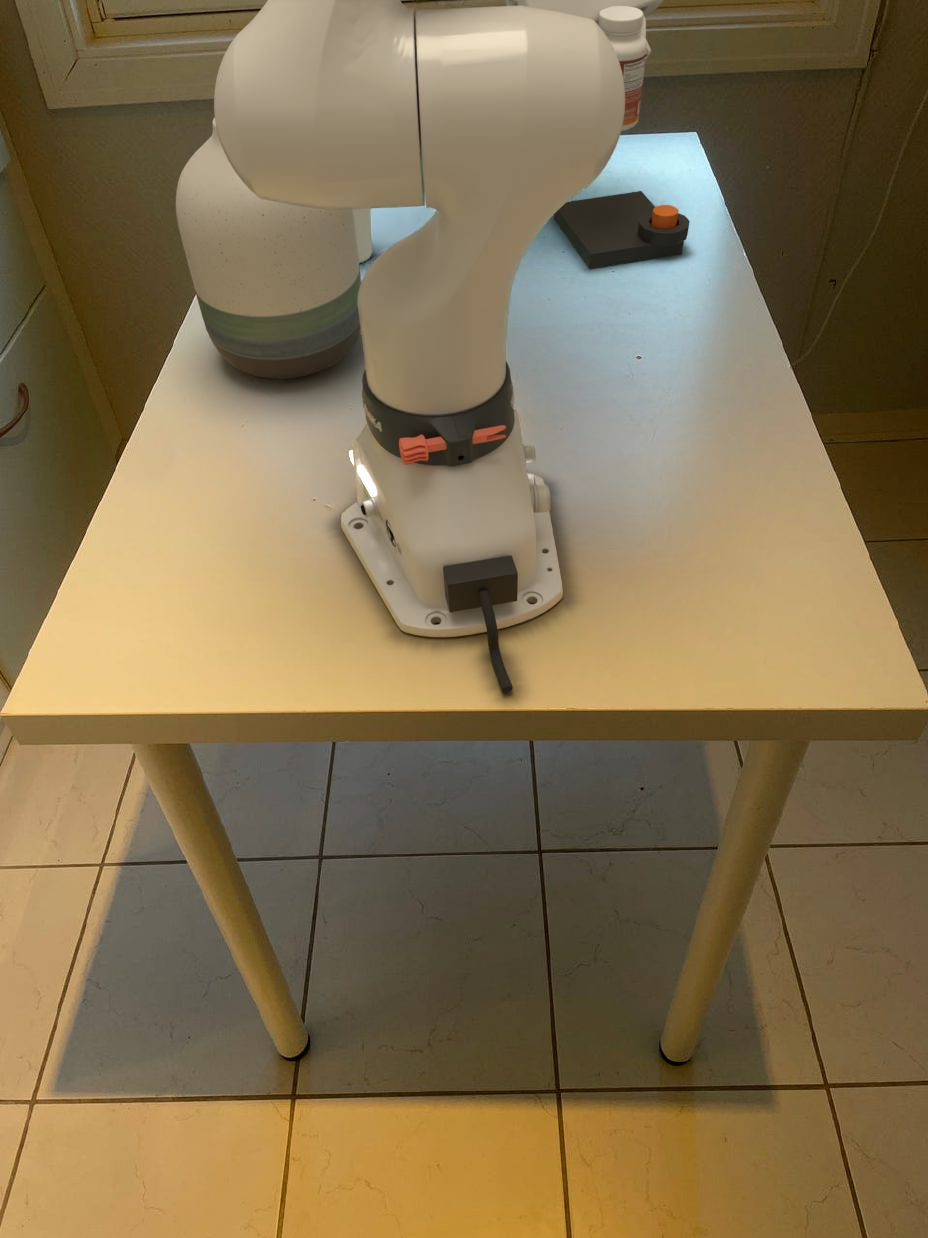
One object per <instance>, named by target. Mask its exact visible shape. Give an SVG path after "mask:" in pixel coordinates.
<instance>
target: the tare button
mask: <svg viewBox="0 0 928 1238" xmlns="http://www.w3.org/2000/svg"><path fill="white" fill-rule="evenodd" d="M678 213H679V208H677V207H676V206H674V205H670V204H660V205H659V204H658V205H655V208H654V209H653V215H652V223H651V224H652V226H654V227H657V228H664V229H668V228H674V227H676V225H677V218H678Z"/></svg>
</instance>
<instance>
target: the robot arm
mask: <svg viewBox="0 0 928 1238" xmlns="http://www.w3.org/2000/svg"><path fill="white" fill-rule="evenodd" d="M664 1H665V0H505V5H500V6H499V5H498V6H497V5H496V6H478V7H477V6H476V7H474V6H473V7H454V8H453V7H451V8H432V9H431V8H429V9H416V10H415V8H414V7H408V6H405V4H403V3H402V0H267V1H266V2H265V4H264V5H262V7H261V9H260V10H259V11H258V13H257V14H255V16H254V17H253V19H251V20H250V21H249V23H247V24H246V25H245V26H244V27H243V28H242V29H241V30H240V31H239V32H238V33H237V34H236V36H235V37H234V38H233V40H232V41H231V43H230V44H229V45H228V48H227V49H226V51H225V52H224V55H223V57H222V60H221V63H220V65H219V67H218V71H217V75H216V78H215V84H214V93H213V112H214V117H215V122H216V128H217V132H218V136H219V139H220V142H221V145H222V148H223V150H224V152H225V155H226V157H227V159H228V161H229V163H230V164H231V166H232V168H233V169H234V171H235V172H236V174H237V175H238V176H239V178H240V179H241V180H242V182H243V183H244V184H245V185H246V186H247V187H248V188H249V189H250V190H251V191H252V192H253V193H254V194H255V195H256V196H257V197H259V198H261V199H264V200H269V201H274V202H279V203H284V204H290V205H295V206H301V207H308V208H315V209H322V210H348V209H391V208H414V207H415V208H416V207H426V208H427V209H434V210H435V211H434V213H433V214H432V215H431V217H430V218H429V219H428V220H427V221H426V223H424V225H422V226H421V227H420V228H419V229H417V230H416V231H414V232H413V233H411V234H409V235H408V236H405V237H404V238H402V239H400V240H398V241H397V242H395V243H393V244H392V245H391V246H389V247H388V248H386V249H385V250H384V251H383V252H382V253H381V254H379V255H378V256H377V258H376V259H375V260H374V261H373V262H372V263H371V265H370V266H369V267H368V269H367V270H366V272H365V273H364V275H363V277H362V278H361V284H360V288H359V291H358V298H357V305H358V313H359V321H360V328H361V329H360V335H361V342H362V351H363V359H364V367H365V369H364V371H363V372H362V373H363V374H362V379H361V385H362V389H361V400H362V406H363V409H364V413H365V420H366V423H365V426H364V427H363V429H362V431H361V432H360V434H359V435H358V436H357V437H356V438H355V440H354V442H353V443H352V444H351V450H349V452H348V453H349V458H350V461H351V463H352V465H353V471H354V472H353V473H354V479H355V480H354V481H355V488H356V489H355V490H356V498H357V499H356V501H355V502H353V503H352V504H351V505H349V506H348V507H347V508H346V509H345V510H344V511H343V512H342V513H341V515H340V527H341V530H342V532H343V535H344V536H345V538H346V539H347V541H348V542H349V544H350V546H351V548H352V549H353V551H354V553H355V554H356V556H357V558H358V560H359V561H360V563H361V565H362V567H363V568H364V570H365V572H366V573H367V575H368V577H369V579H370V581H371V582H372V584H373V585H374V587H375V589H376V591H377V592H378V594H379V596H380V598H381V600H382V601H383V603H384V605H385V606H386V608H387V610H388V612H389V613H390V615H391V617H392V619H393V620H394V622H395V623H396V626H397V627H398V628H399V629H400V630H401V631H402V632H403V633H406V634H410V635H415V636H418V637H419V636H420V637H427V638H454V637H455V638H456V637H463V636H471V635H478V634H482V633H486V635H487V636H486V637H487V646H488V652H489V657H490V661H491V664H492V668H493V670H494V673H495V675H496V677H497V681H498V682H499V686H500V688H501V691H502V693H504V694H508V693H510V692H512V691H513V689H514V687H513V684H512V681H511V678H510V676H509V674H508V671H507V669H506V666H505V664H504V661H503V657H502V652H501V650H500V649H501V648H500V643H499V631H498V630H500V629H504V628H509V627H511V626H515V625H518V624H522V623H524V622H526V621H530V620H532V619H534V618H536V617H538V616H540V615H542V614H544V613H546V612H547V611H548V610H550V609H551V608H553V607H554V606H556V605H557V604H558V603H559V602H560V601H561V600H562V599H563V596H564V589H563V579H562V574H561V568H560V564H559V559H558V558H559V557H558V552H557V547H556V540H555V536H554V535H555V534H554V530H553V526H552V518H551V512H550V511H551V508H552V507H551V505H552V503H551V502H552V500H551V499H552V498H551V491H550V486H549V484H546V483H545V481H544V479H543V477H541V476H539V475H537V474H535V473H532V472H528V467H527V463H528V464H529V463H533V462H534V463H535V462H536V460H537V456H536V453H537V452H536V447H535V445H525V444H524V441H523V436H522V426H523V425H522V423H523V414H522V413H521V412H519V411H518V410H517V409H515V407H514V404H515V394H514V385H513V380H512V377H511V376H512V375H511V368H510V366H509V363H508V361H507V340H508V339H507V337H508V336H507V335H508V323H509V311H510V305H511V303H510V302H511V295H512V289H513V285H514V281H515V278H516V275H517V272H518V270H519V267H520V265H521V263H522V261H523V258H524V256H525V254H526V253H527V251H528V249H529V248H530V246H531V244H532V243H533V241H534V240H535V238H536V237H537V235H538V234H540V231H542V229H543V227H544V226H545V225H546V224H547V222H548V221H550V219H552V217H553V215H554V214H555V213H556V212H557V211H558V210H559V209H560V208H561V207H562V206H563V205H564V204H565V203H567V202H569V201H570V200H572V199H573V198H574V197H576V196H578V194H579V193H581V192H582V191H584V190H585V189H587V188H588V187H590V186H591V185H592V184H593V183H594V182H595V181H596V179H598V177H599V176H600V175H601V174H602V172H603V171H604V169H605V168H606V166H607V165H608V163H609V162H610V160H611V158H612V157H613V154H614V152H615V150H616V148H617V145H618V142H619V139H620V137H621V134H622V131H621V129H622V125H623V121H624V113H625V86H624V79H623V74H622V70H621V66H620V63H619V60H618V57H617V55H616V52H615V50H614V48H613V46H612V44H611V43H610V41H609V39H608V37H607V36H606V35H605V33H604V32H603V30H602V29H601V28H600V27H599V26H598V22H599V13H600V11H601V10H603V9H606V8H609V7H612V6H629V7H634V8H637V9H640V10H641V11H642V12H643V25H642V29H641V30H640V31H639V33H640V34H641V35H642V36H643V37H644V38H645V40H646V43H647V50H646V59H648V58H649V57H650V56H651V55H652V54H651V53H652V49H651V46H650V43H649V42H648V40H647V18H646V17H648V16H650V15H652V14H653V13H654V12H655V11H656V10H657V9H658V8H659V6H661V4H662V3H664Z"/></svg>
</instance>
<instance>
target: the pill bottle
mask: <svg viewBox="0 0 928 1238" xmlns="http://www.w3.org/2000/svg"><path fill="white" fill-rule="evenodd" d="M642 25H643V12H642V11H641V10H640V9H637V8H634V7H629V6H612V7H609V8H606V9H603V10H601V11H600V13H599V22H598V26H599V27H600V28H601V29H602V30H603V32H604V33H605V35H606V36H607V37H608V39H609V41H610V43H611V44H612V46H613V48H614V50H615V52H616V55H617V57H618V60H619V63H620V66H621V70H622V74H623V79H624V86H625V113H624V121H623V125H622V129H621V132H624V131H628V130H630V129H632V128H634V127H635V126H636V125H637V124H638V123H639V119H640V113H641V111H640V110H641V102H642V94H643V93H642V92H643V85H644V77H645V68H646V60H647V58H646V50H647V43H646V40H647V39H646V40H645V38H646V37H645V38H644V37H643V36H642V35H641V34H640V33H639V31H640V30H641V29H642Z"/></svg>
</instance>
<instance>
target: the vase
mask: <svg viewBox="0 0 928 1238" xmlns="http://www.w3.org/2000/svg"><path fill="white" fill-rule="evenodd" d="M175 193H176V194H175V214H176V219H177V220H176V221H177V226H178V230H179V235H180V239H181V243H182V245H183V247H182V248H183V250H184V254H185V258H186V262H187V266H188V269H189V270H188V271H189V273H190V277H191V281H192V285H193V288H194V291H195V295H196V299H197V303H198V306H199V310H200V313H201V317H202V320H203V324H204V326H205V330H206V332H207V334H208V337H209V339H210V341H211V342H212V344H213V347H215V349H216V350H217V352H218V353H219V354H220V356H222V358H223V359H224V360H225V361H226V362H228V364H230V366H232V367H234V368H236V369H237V370H239V371H241V372H244V373H246V374H248V375H251V376H254V377H255V376H256V377H261V378H266V379H277V380H278V379H279V380H280V379H295V378H300V377H305V376H309V375H313V374H316V373H319V372H321V371H324V370H325V369H328V368H330V367H331V366H334V365H335V364H337V363H338V362H340V361H341V360H342V359H343V358H344V357H345V356H347V354H349V352H350V351H351V350H352V349H353V348H354V346H355V344H356V342H357V340H358V339H359V335H360V334H361V328H360V321H359V313H358V305H357V298H358V291H359V288H360V284H361V282H362V277H361V276H362V275H361V268H360V263H359V259H358V250H357V241H356V233H355V225H354V216H353V209H348V210H322V209H315V208H308V207H301V206H295V205H290V204H284V203H279V202H274V201H269V200H264V199H261V198H259V197H257V196H256V195H255V194H254V193H253V192H252V191H251V190H250V189H249V188H248V187H247V186H246V185H245V184H244V183H243V182H242V180H241V179H240V178H239V176H238V175H237V174H236V172H235V171H234V169H233V168H232V166H231V164H230V163H229V161H228V159H227V157H226V155H225V152H224V150H223V148H222V145H221V142H220V139H219V136H218V132H217V128H216V122H215V116H214V117H213V119H212V133H211V136H210V137H209V138H208V139H207V140H206V141H205V142H204V143H203V144H202V145H201V146H200V147H199V148H198V149H197V150H196V151H195V152H194V153H193V155H192V156H191V157H190V158H189V159H188V161H187V162H186V164H185V165H184V167H183V169H182V171H181V173H180V175H179V178H178V181H177V186H176V192H175Z"/></svg>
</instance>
